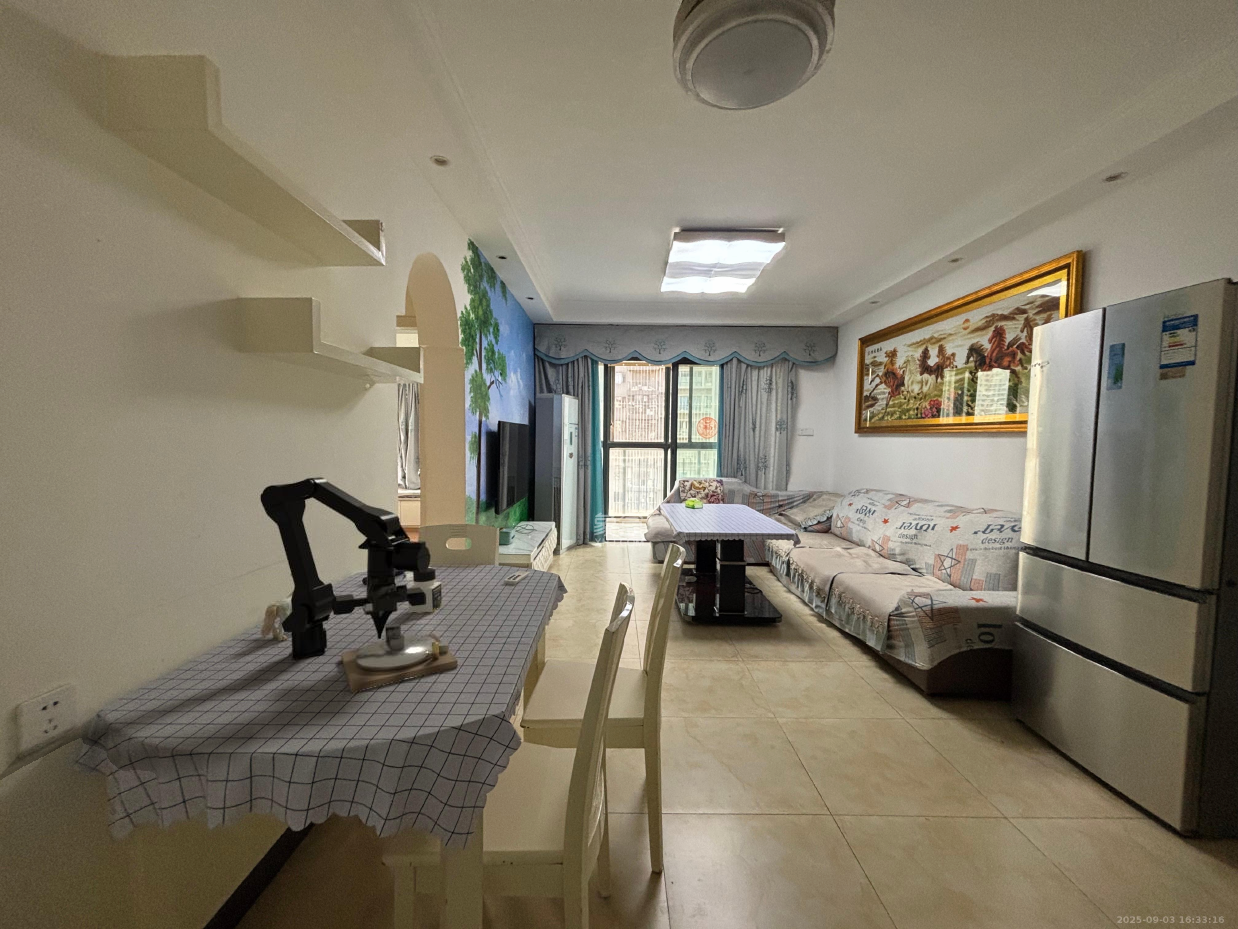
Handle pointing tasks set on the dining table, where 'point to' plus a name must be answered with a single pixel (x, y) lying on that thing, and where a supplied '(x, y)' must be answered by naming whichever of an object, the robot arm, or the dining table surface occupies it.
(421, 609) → the medicine bottle
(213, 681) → the dining table surface
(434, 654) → the dowel
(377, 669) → the flange plate
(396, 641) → the post
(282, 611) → the unicorn figurine
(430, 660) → the base board
